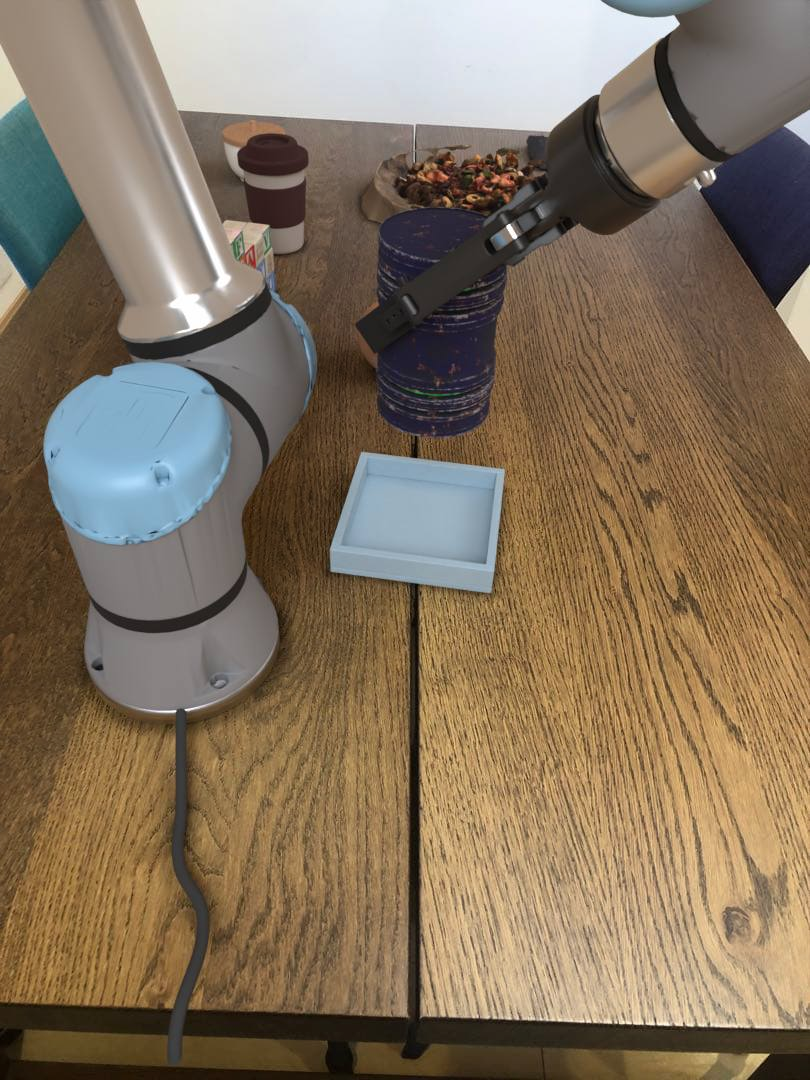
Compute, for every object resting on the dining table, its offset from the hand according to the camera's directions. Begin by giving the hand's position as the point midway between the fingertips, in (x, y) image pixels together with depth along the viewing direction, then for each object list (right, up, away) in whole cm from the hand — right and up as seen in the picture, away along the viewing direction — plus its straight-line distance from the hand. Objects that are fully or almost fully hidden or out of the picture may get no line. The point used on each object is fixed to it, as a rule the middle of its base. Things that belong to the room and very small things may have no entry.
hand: (406, 311), depth 66 cm
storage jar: (+2, -7, +4) cm, 9 cm away
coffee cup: (-19, +26, +58) cm, 67 cm away
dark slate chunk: (+34, +55, +91) cm, 112 cm away
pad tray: (+1, -17, +13) cm, 22 cm away
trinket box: (-26, +45, +78) cm, 94 cm away
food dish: (+10, +38, +73) cm, 83 cm away
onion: (-1, +2, +34) cm, 34 cm away
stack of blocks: (-23, +9, +40) cm, 48 cm away
